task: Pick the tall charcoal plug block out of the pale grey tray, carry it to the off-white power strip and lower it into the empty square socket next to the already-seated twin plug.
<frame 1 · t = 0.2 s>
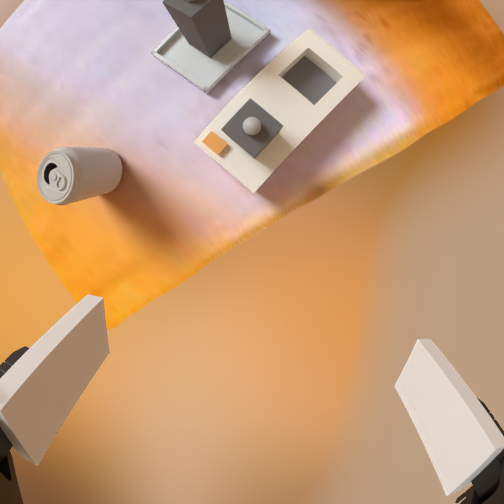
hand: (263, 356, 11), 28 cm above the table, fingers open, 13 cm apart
beverage can: (106, 171, 35), on the table
plug: (210, 40, 29), point 1 cm above the table, touching tray
strip: (280, 109, 33), on the table
tray: (210, 42, 30), on the table
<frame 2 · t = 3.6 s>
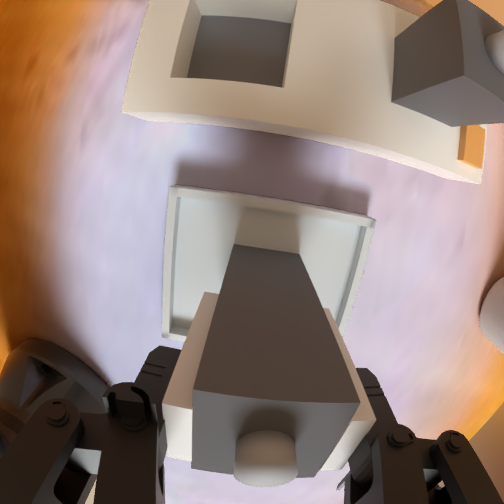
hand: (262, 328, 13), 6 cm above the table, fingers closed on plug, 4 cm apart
beverage can: (495, 301, 19), on the table
plug: (261, 279, 18), point 1 cm above the table, touching gripper, tray
strip: (321, 73, 15), on the table
tray: (261, 276, 19), on the table
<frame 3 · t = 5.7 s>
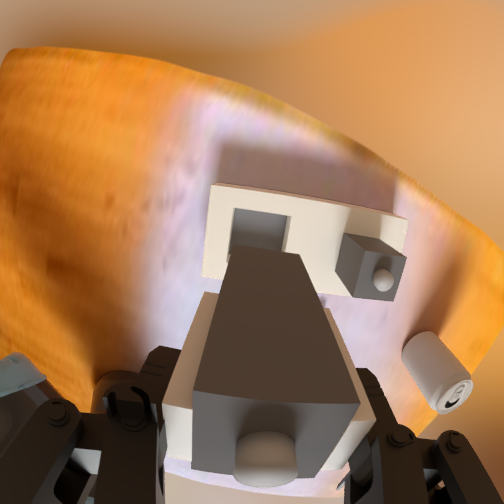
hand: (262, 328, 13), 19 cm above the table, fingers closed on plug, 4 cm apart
beverage can: (417, 345, 36), on the table
plug: (261, 279, 18), point 14 cm above the table, touching gripper
strip: (303, 237, 31), on the table
when the fingers open (7 cm above the table, at t = 7.7 s): plug stays where it is, resting on strip.
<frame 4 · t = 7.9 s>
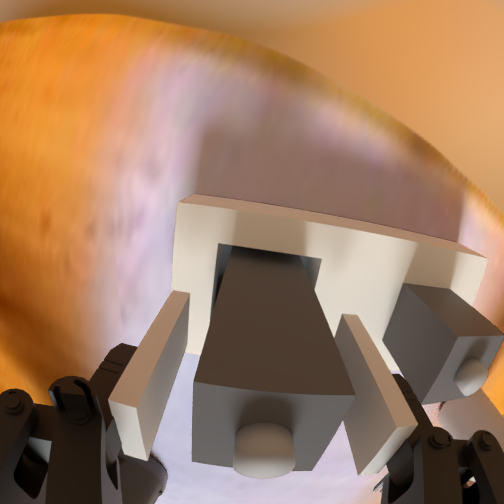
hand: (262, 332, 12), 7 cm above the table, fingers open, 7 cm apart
beverage can: (456, 399, 24), on the table
plug: (260, 277, 18), point 1 cm above the table, touching strip
strip: (332, 281, 19), on the table
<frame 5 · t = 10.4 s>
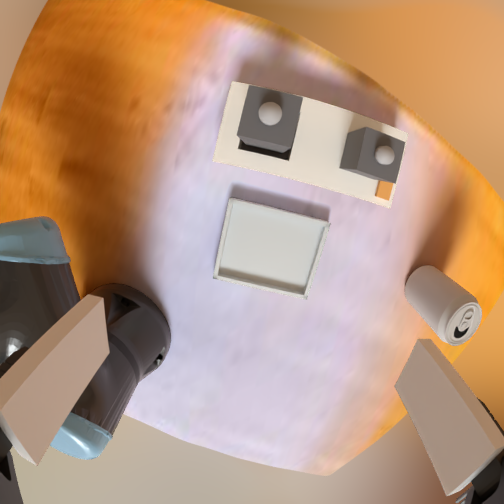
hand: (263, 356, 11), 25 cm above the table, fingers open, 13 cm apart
beverage can: (420, 283, 36), on the table
plug: (268, 132, 30), point 1 cm above the table, touching strip
strip: (310, 144, 32), on the table
tray: (270, 248, 36), on the table
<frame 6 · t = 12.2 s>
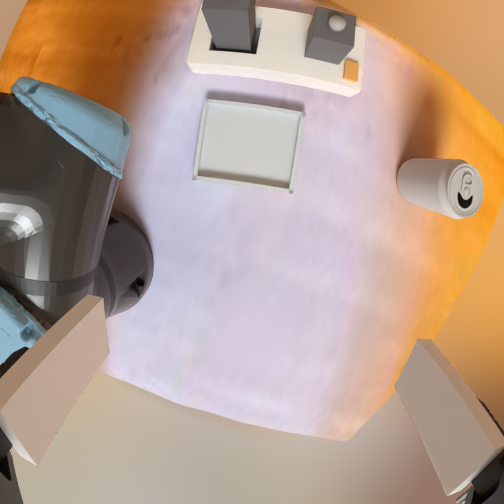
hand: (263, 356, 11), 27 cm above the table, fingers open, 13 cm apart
beverage can: (413, 180, 34), on the table
plug: (237, 42, 28), point 1 cm above the table, touching strip
strip: (277, 50, 29), on the table
tray: (248, 145, 33), on the table
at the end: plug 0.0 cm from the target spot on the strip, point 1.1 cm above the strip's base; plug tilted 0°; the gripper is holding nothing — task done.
